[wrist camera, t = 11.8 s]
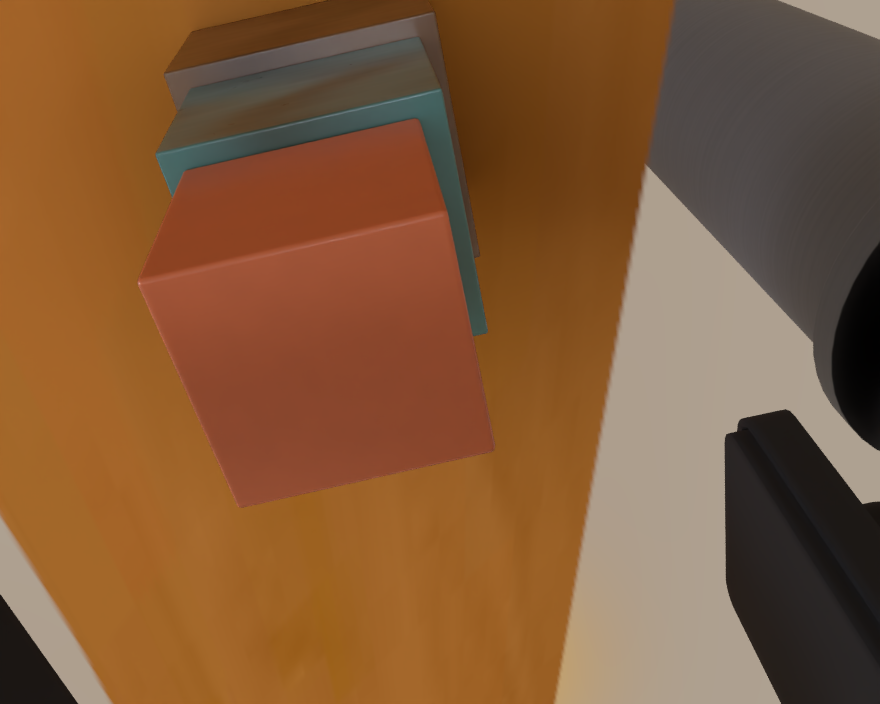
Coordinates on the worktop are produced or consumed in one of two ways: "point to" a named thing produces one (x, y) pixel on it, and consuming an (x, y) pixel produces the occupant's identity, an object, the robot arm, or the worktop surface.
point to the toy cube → (319, 314)
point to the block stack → (321, 96)
